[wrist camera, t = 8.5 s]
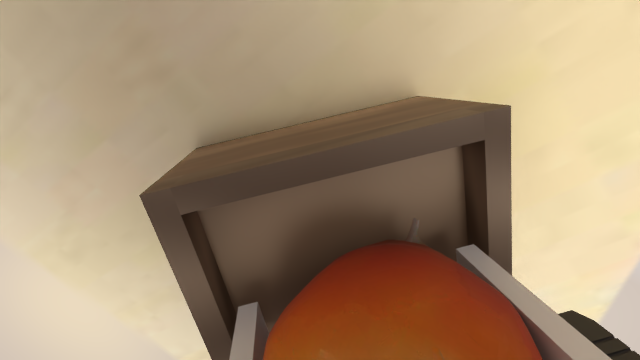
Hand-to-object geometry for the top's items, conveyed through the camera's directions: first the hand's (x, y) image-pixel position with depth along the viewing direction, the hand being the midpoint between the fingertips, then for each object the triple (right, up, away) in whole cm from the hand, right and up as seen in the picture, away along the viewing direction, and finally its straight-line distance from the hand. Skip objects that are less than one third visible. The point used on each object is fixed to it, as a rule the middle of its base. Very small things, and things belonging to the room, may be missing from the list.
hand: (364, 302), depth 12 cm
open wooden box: (-1, +2, +7) cm, 8 cm away
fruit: (0, 0, +1) cm, 1 cm away
